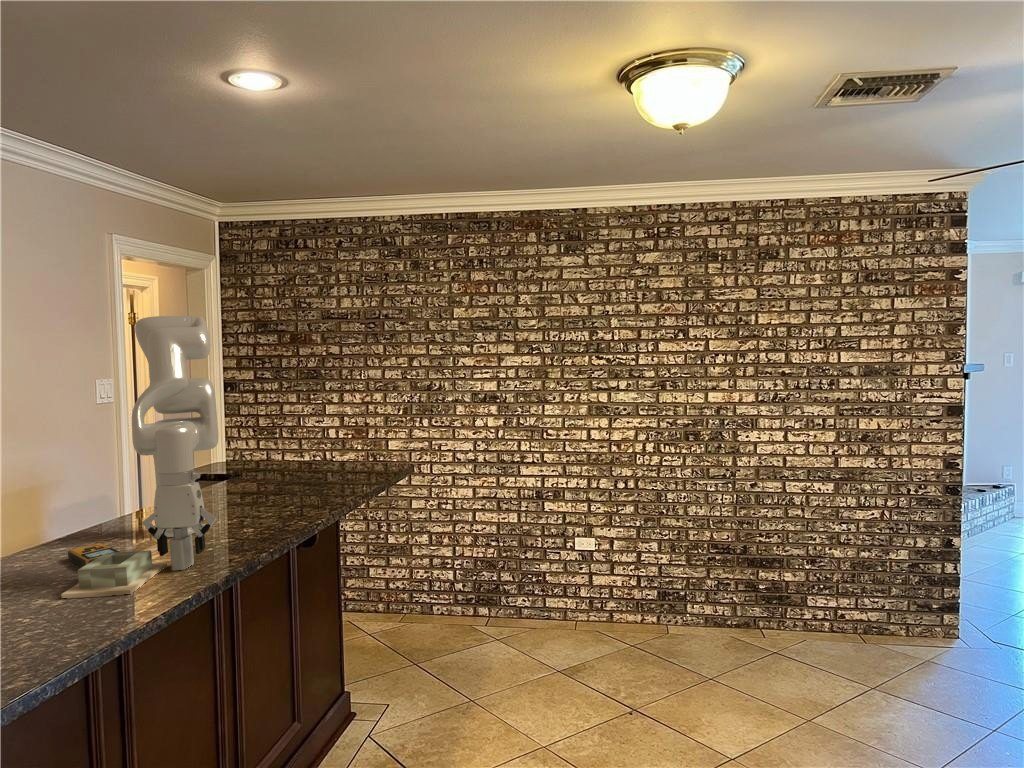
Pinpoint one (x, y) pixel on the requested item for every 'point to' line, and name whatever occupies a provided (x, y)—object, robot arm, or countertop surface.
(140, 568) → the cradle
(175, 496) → the robot arm
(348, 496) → the countertop surface
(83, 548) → the electronic device
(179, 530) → the power adapter
